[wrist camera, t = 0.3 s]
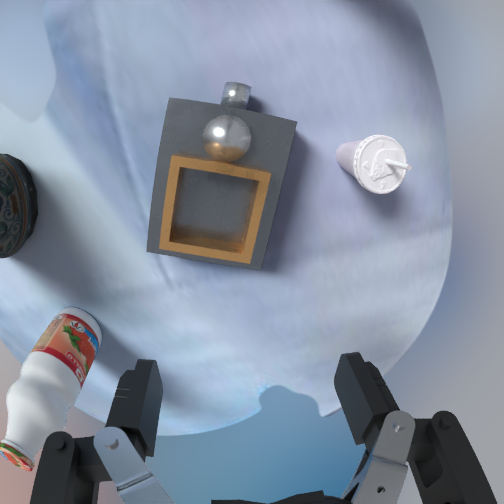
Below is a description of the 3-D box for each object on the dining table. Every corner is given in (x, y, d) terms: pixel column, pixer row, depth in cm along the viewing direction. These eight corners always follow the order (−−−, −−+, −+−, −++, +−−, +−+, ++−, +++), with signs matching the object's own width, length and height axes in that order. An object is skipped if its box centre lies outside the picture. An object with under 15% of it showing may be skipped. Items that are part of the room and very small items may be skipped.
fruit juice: (51, 302, 41) (-31, 425, 15) (98, 308, 42) (26, 454, 16) (64, 344, 45) (5, 465, 19) (108, 351, 46) (60, 489, 20)
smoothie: (377, 155, 37) (440, 172, 24) (349, 188, 38) (403, 218, 25) (346, 122, 35) (405, 123, 22) (316, 156, 36) (363, 172, 23)
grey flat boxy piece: (181, 79, 31) (170, 66, 23) (292, 101, 33) (310, 93, 26) (155, 237, 38) (140, 262, 31) (256, 254, 41) (263, 282, 33)
